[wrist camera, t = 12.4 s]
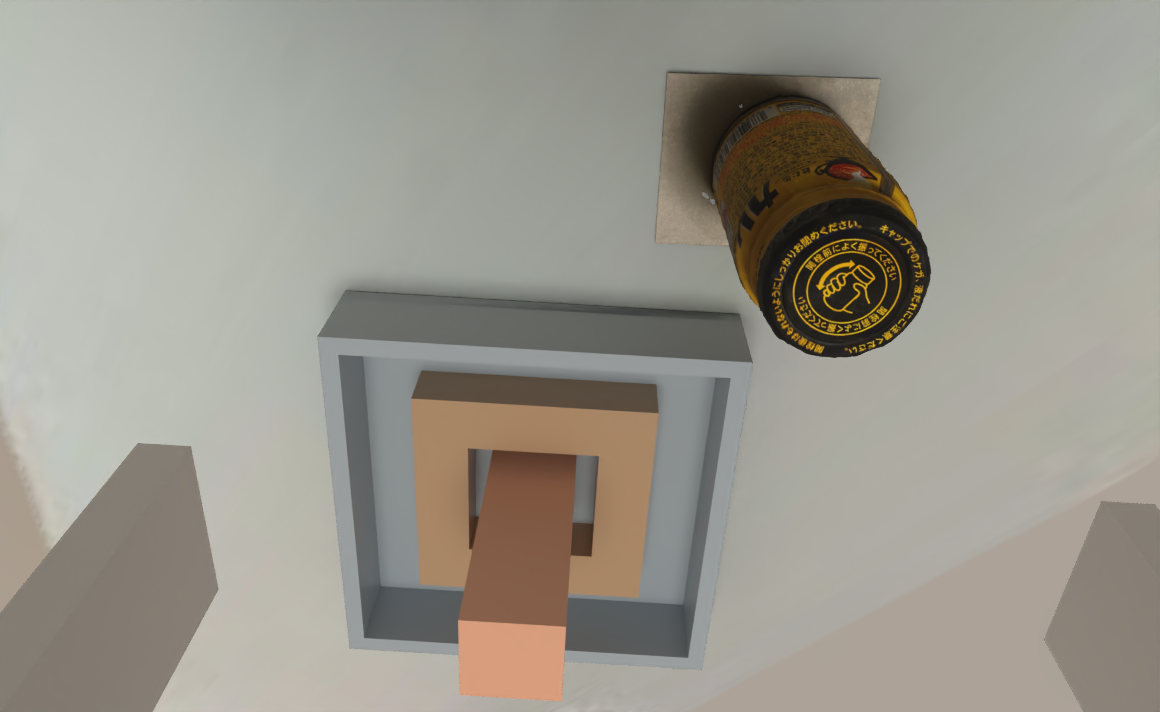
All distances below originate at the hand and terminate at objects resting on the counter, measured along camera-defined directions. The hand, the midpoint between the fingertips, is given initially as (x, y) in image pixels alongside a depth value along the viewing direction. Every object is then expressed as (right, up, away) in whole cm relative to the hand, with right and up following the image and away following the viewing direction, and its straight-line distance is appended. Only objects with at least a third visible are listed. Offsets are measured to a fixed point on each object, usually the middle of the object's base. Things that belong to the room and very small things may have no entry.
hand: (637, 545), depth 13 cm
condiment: (+7, +11, +25) cm, 28 cm away
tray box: (-3, -3, +32) cm, 32 cm away
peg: (-3, -3, +31) cm, 32 cm away
